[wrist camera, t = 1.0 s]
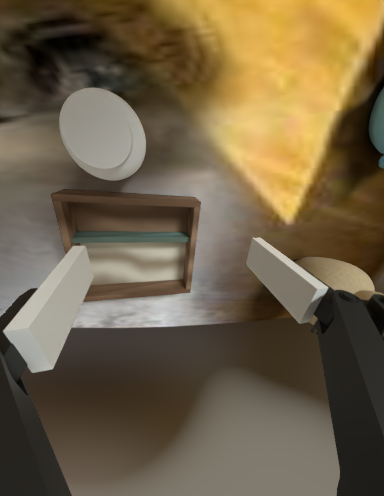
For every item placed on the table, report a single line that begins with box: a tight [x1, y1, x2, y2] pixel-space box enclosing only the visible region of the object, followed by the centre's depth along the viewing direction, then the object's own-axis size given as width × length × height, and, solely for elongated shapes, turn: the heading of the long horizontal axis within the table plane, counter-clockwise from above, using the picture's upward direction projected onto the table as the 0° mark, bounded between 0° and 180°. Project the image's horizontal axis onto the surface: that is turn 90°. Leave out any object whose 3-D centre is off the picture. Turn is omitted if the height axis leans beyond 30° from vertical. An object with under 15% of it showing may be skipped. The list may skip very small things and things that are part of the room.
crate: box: [51, 189, 201, 302], centre depth 33 cm, size 20×22×4 cm
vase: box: [294, 257, 384, 325], centre depth 37 cm, size 17×17×30 cm
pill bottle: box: [59, 88, 146, 181], centre depth 21 cm, size 8×8×14 cm
